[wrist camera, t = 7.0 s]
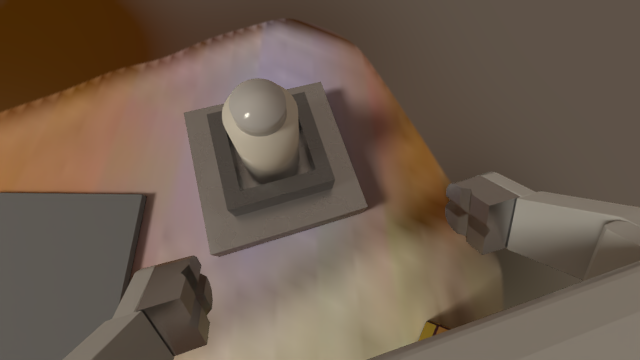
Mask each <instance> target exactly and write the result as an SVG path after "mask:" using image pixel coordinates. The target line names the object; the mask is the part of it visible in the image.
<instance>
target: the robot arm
mask: <svg viewBox="0 0 640 360" xmlns="http://www.w3.org/2000/svg"><path fill="white" fill-rule="evenodd" d="M446 196H447V197H448V198H449V199H450V201H449V202H448V204H447V205H446V209H445V216H446V218H447V221H448V224H449V225H450V227H451V228H452V229H453V230H454V231H455V232H456V233H458V234H461V235H465V236H466V240H467V242H468V243H469V244H470V245H471V246H472V247H474V248H475V249H476V250H477V251H478V252H479V253H480V254H482V255H484V254H487V253H491V252H494V251H497V250H501V249H504V248H507V249H508V250H511V251H513V252H516V253H518V254H520V255H523V256H525V257H528V258H530V259H532V260H535V261H537V262H540V263H543V264H545V265H547V266H550V267H552V268H555V269H557V270H560V271H562V272H564V273H567V274H570V275H572V276H574V277H577V278H579V279H582V280H583V281H582V282H580V283H577V284H574V285H571V286H569V287H566V288H563V289H561V290H558V291H555V292H552V293H549V294H547V295H544V296H541V297H539V298H536V299H533V300H530V301H527V302H525V303H522V304H519V305H516V306H514V307H511V308H508V309H505V310H503V311H500V312H497V313H494V314H492V315H489V316H486V317H483V318H481V319H478V320H475V321H472V322H470V323H467V324H464V325H462V326H459V327H456V328H453V329H451V330H448V331H445V332H442V333H440V334H437V335H434V336H431V337H428V338H426V339H423V340H420V341H417V342H415V343H412V344H409V345H406V346H404V347H401V348H398V349H395V350H392V351H390V352H387V353H384V354H381V355H379V356H376V357H373V358H370V359H368V360H640V207H635V206H629V205H623V204H617V203H611V202H605V201H599V200H593V199H587V198H580V197H574V196H568V195H562V194H556V193H550V192H544V191H539V192H535V191H533V190H531V189H529V188H526V187H525V186H523V185H521V184H519V183H517V182H514V181H512V180H510V179H508V178H506V177H504V176H502V175H500V174H498V173H496V172H487V173H484V174H481V175H478V176H476V177H473V178H470V179H466V180H462V181H459V182H455V183H452V184H449V185H448V187H447V192H446ZM200 270H201V264H200V262H199V260H198V258H197V257H195V256H189V257H185V258H181V259H178V260H174V261H170V262H166V263H162V264H158V265H154V266H151V267H147V268H144V269H140V270H138V271H137V272H135V274H134V276H133V278H132V280H131V282H130V284H129V286H128V288H127V290H126V292H125V294H124V296H123V298H122V300H121V302H120V304H119V306H118V308H117V310H116V312H115V314H114V316H113V318H112V319H111V320H108V321H105V322H104V323H103V324H102V325H100V326H99V327H98V328H97V329H96V330H95V331H94V332H93V333H92V334H90V335H89V336H88V337H87V338H86V339H85V340H84V341H83V342H82V343H80V344H79V345H78V346H77V347H76V348H75V349H74V350H73V351H72V352H70V353H69V354H68V355H67V356H66V357H65V358H64V359H63V360H173V359H174V357H173V356H176V355H179V354H182V353H185V352H187V351H190V350H193V349H196V348H199V347H202V346H204V345H207V341H208V333H209V326H210V322H209V320H208V318H207V314H208V313H209V312H210V310H211V309H212V301H213V299H212V289H211V286H210V283H209V280H208V278H207V277H206V276H204V275H202V274H200Z"/></svg>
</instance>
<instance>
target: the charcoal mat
mask: <svg viewBox="0 0 640 360" xmlns="http://www.w3.org/2000/svg"><path fill="white" fill-rule="evenodd" d="M145 202H146V196H144V195H142V194H58V193H0V360H63V359H64V358H65V357H66V356H67V355H68V354H69V353H70V352H72V351H73V350H74V349H75V348H76V347H77V346H78V345H79V344H80V343H82V342H83V341H84V340H85V339H86V338H87V337H88V336H89V335H90V334H92V333H93V332H94V331H95V330H96V329H97V328H98V327H99V326H100V325H102V324H103V323H104V322H105V321H108V320H111V319H112V318H113V316H114V314H115V312H116V310H117V308H118V306H119V304H120V302H121V300H122V298H123V296H124V294H125V292H126V290H127V288H128V285H129V280H130V275H131V270H132V265H133V260H134V256H135V251H136V246H137V241H138V236H139V231H140V226H141V221H142V217H143V212H144V207H145Z"/></svg>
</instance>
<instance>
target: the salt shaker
mask: <svg viewBox="0 0 640 360" xmlns="http://www.w3.org/2000/svg"><path fill="white" fill-rule="evenodd" d="M222 121H223V125H224V127H225V129H226V131H227V133H228V135H229V137H230V139H231V141H232V143H233V144H234V146H235V148H236V150H237V152H238V154H239V156H240V158H241V159H242V161H243V163H244V165H245V167H246V169H247V171H248V172H249V174H250V175H251V176H252V177H253V178H255V179H256V180H258V181H260V182H263V183H270V182H274V181H277V180H281V179H285V178H288V177H291V176H292V175H293V174H294V173H295V171H296V170H297V168H298V165H299V159H300V156H299V123H298V107H297V104H296V101H295V100H294V98H293V96H292V95H291V94H290V93H289V92H288V91H287V90H286V89H284V88H283V87H281V86H279V85H277V84H275V83H274V82H272V81H269V80H266V79H251V80H247V81H245V82H242V83H241V84H239V85H238V86H237V87H236V88H235V89H234V90H233V91H232V93H231V95H230V96H229V97H228V98H227V100H226V102H225V103H224V106H223V110H222Z"/></svg>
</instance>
